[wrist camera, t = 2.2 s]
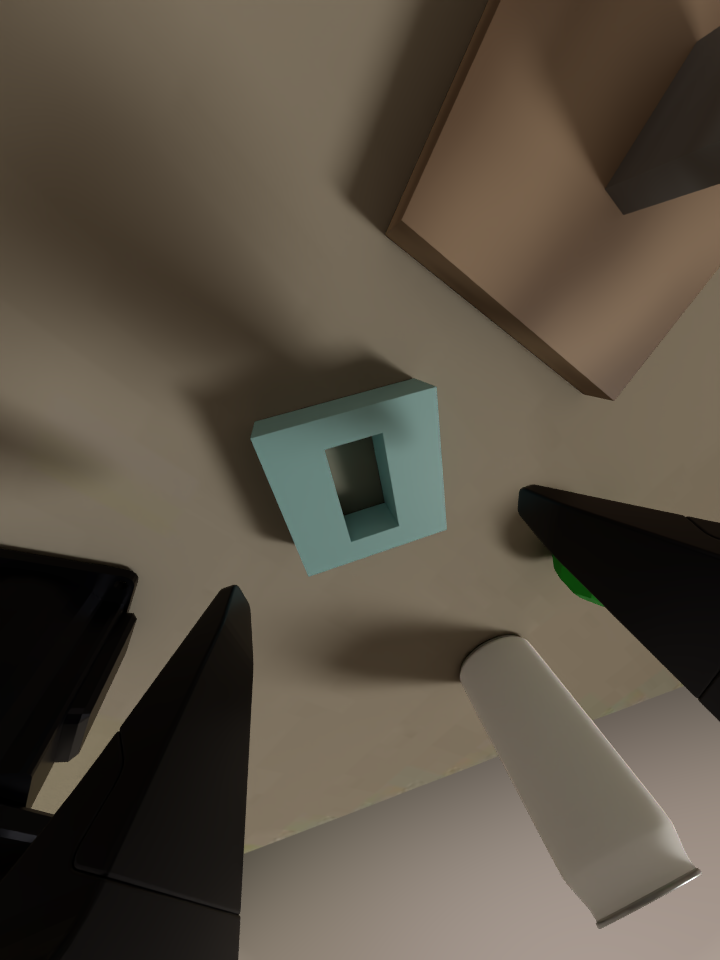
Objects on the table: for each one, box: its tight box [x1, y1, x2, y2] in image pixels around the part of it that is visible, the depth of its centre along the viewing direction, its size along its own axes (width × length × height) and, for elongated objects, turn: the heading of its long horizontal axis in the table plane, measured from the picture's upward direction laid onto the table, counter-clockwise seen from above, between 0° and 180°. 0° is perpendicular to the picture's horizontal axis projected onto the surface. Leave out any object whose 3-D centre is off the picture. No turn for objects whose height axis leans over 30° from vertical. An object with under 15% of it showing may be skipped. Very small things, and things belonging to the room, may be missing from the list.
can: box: [460, 635, 702, 929], centre depth 19 cm, size 6×6×12 cm
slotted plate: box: [250, 378, 447, 576], centre depth 12 cm, size 7×7×2 cm
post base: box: [385, 0, 720, 401], centre depth 8 cm, size 12×12×6 cm
